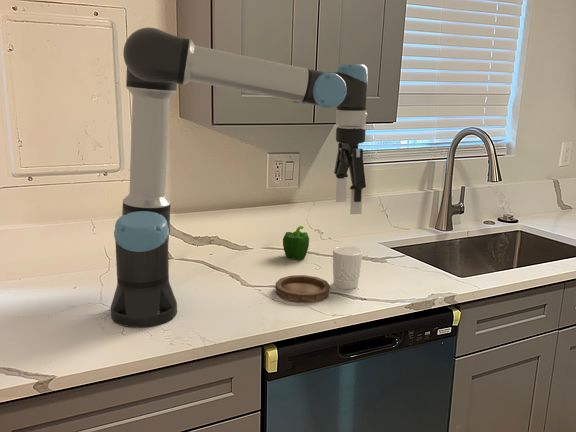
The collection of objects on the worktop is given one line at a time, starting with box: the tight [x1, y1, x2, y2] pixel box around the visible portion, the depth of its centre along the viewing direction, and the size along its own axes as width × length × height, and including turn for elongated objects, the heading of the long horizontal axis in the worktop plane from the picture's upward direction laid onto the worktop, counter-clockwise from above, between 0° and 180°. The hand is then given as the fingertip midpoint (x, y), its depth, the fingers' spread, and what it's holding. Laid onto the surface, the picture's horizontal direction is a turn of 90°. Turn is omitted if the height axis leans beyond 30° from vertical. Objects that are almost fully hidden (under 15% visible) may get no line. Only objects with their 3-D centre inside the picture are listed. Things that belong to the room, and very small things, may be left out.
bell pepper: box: [282, 225, 310, 261], centre depth 175 cm, size 8×8×10 cm
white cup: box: [332, 245, 363, 290], centre depth 154 cm, size 8×8×10 cm
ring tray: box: [275, 274, 331, 304], centre depth 149 cm, size 14×14×2 cm
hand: (348, 207), depth 150 cm, fingers open, 13 cm apart
